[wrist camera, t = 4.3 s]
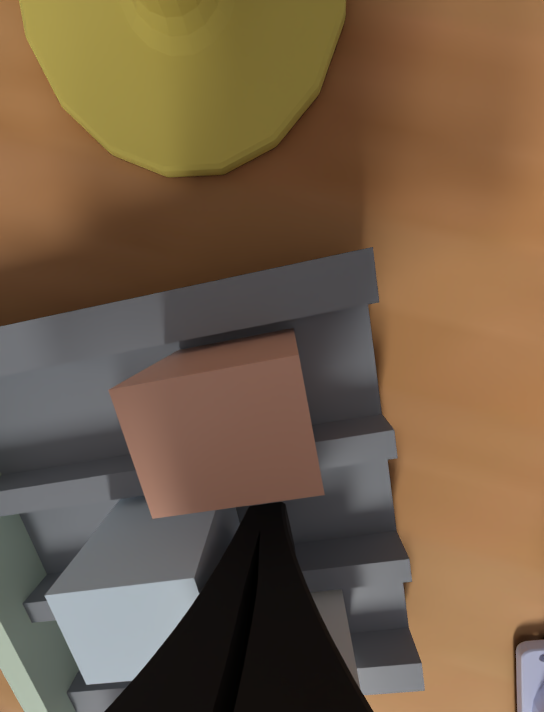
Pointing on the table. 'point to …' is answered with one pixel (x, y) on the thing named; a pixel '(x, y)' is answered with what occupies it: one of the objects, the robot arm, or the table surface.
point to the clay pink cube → (221, 426)
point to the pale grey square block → (337, 625)
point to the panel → (120, 480)
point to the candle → (185, 74)
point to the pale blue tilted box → (135, 585)
